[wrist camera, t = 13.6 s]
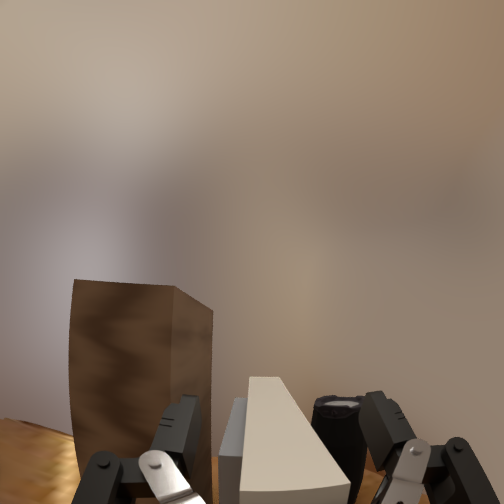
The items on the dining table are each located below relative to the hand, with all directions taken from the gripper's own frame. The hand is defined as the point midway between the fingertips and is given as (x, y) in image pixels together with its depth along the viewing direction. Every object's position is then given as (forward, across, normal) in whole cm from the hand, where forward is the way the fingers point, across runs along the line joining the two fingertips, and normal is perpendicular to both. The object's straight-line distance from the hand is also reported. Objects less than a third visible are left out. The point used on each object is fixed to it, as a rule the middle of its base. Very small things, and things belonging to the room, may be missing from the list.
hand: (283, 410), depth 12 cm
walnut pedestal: (-2, +10, +28) cm, 30 cm away
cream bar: (+4, 0, +8) cm, 9 cm away
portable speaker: (+9, -11, +35) cm, 37 cm away
